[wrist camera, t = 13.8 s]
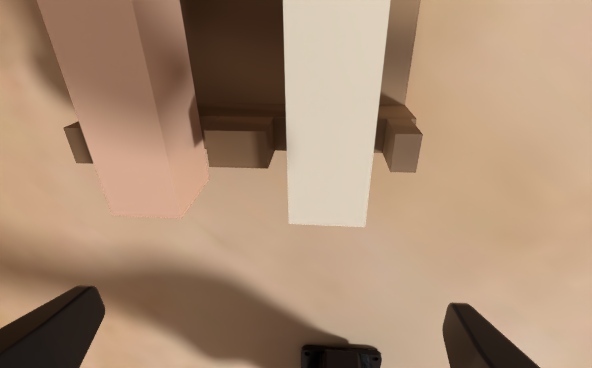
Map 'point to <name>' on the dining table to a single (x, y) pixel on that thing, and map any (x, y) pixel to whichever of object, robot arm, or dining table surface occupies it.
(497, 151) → the dining table surface
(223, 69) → the rack
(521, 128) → the dining table surface
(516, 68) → the dining table surface
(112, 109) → the clay strip
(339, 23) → the strip
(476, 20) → the dining table surface
